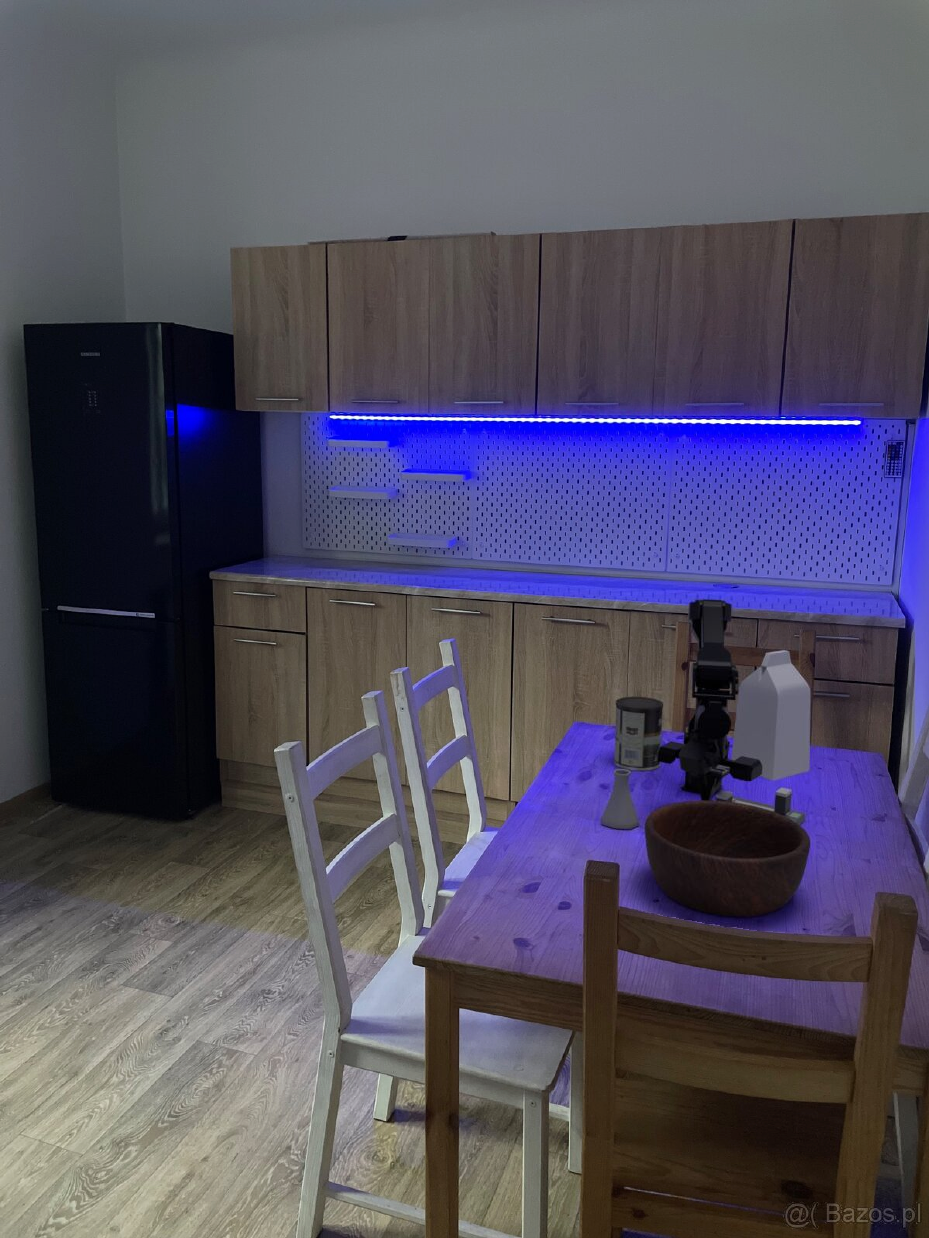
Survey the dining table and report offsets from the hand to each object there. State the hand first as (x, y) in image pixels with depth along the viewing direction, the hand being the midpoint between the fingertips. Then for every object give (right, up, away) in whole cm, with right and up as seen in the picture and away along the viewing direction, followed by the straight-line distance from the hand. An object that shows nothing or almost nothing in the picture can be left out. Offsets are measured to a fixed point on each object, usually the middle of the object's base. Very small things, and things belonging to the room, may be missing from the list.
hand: (706, 804), depth 181 cm
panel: (+6, -4, -4) cm, 8 cm away
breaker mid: (+3, -1, -2) cm, 4 cm away
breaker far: (+14, -1, 0) cm, 14 cm away
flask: (-16, -3, -2) cm, 17 cm away
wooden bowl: (-5, -8, -28) cm, 30 cm away
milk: (+22, +2, +30) cm, 37 cm away
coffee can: (-7, +3, +32) cm, 33 cm away
